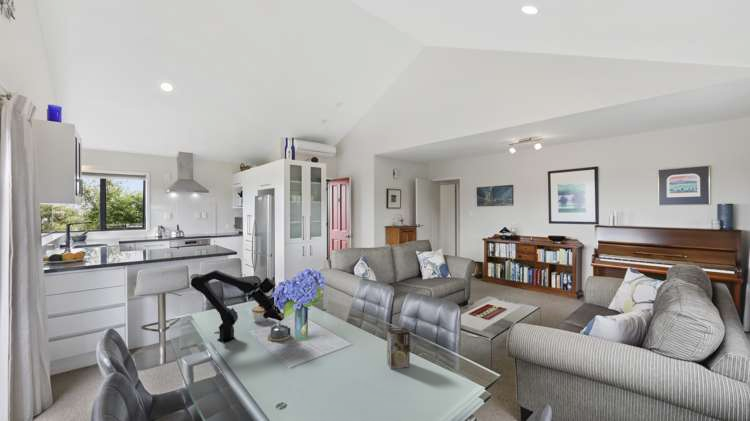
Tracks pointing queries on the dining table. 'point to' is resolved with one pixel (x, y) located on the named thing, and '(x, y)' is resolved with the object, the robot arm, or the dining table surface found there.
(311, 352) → the dining table surface
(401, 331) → the coffee box
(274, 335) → the press body
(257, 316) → the lidded jar
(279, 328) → the plunger
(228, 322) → the robot arm
